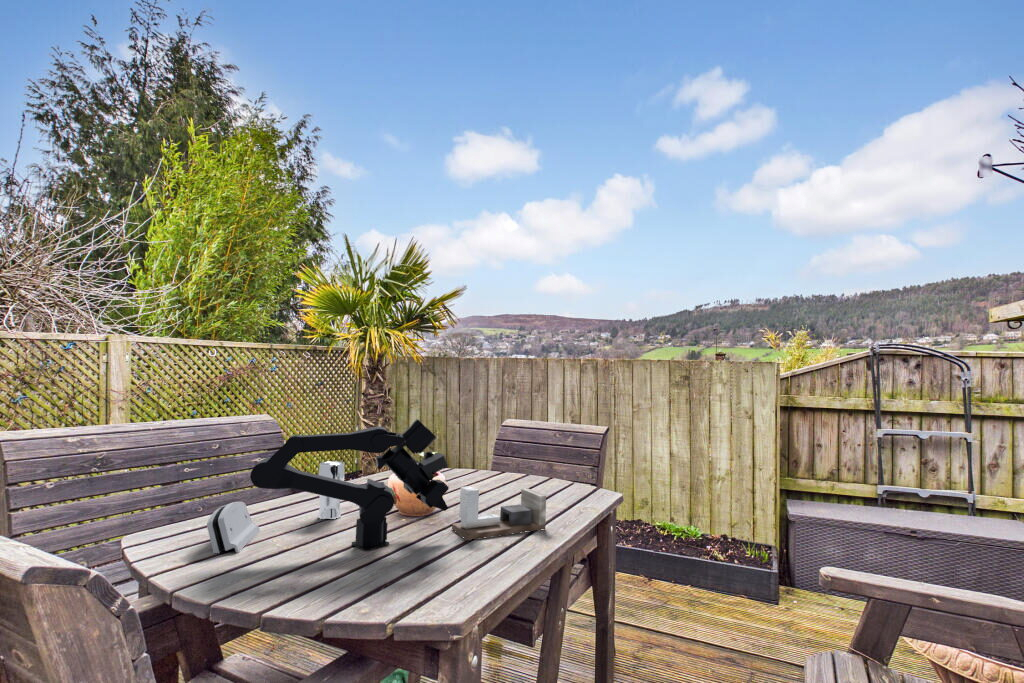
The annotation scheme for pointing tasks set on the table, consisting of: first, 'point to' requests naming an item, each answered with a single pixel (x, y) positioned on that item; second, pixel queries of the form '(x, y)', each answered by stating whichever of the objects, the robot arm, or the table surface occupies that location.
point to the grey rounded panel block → (231, 527)
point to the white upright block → (328, 504)
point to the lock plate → (512, 518)
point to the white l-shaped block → (473, 510)
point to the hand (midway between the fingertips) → (446, 509)
